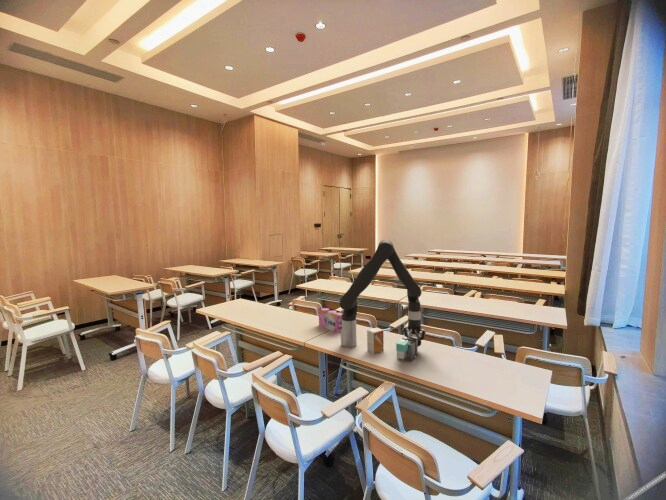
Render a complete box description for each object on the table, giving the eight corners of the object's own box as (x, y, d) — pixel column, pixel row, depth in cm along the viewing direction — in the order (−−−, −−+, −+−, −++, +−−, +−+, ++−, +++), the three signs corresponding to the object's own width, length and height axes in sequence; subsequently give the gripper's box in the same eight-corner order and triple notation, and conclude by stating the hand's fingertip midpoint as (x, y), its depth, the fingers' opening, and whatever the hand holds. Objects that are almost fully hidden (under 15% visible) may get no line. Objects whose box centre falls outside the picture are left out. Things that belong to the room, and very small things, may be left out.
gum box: (345, 331, 225) (345, 312, 224) (337, 333, 220) (336, 315, 219) (326, 323, 244) (326, 306, 243) (318, 325, 239) (318, 308, 238)
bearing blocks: (397, 358, 177) (397, 342, 176) (403, 352, 185) (403, 336, 184) (411, 362, 172) (411, 345, 171) (417, 355, 180) (417, 339, 179)
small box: (373, 353, 184) (373, 332, 183) (367, 350, 189) (366, 329, 188) (383, 350, 188) (383, 329, 187) (377, 347, 194) (376, 327, 193)
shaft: (396, 358, 171) (395, 349, 170) (411, 344, 190) (411, 336, 190) (404, 360, 168) (404, 351, 167) (419, 345, 188) (419, 337, 187)
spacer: (396, 350, 171) (396, 343, 170) (399, 347, 175) (399, 340, 174) (404, 352, 168) (404, 345, 168) (408, 349, 172) (408, 342, 172)
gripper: (400, 317, 188) (401, 344, 189) (424, 321, 180) (424, 349, 181) (405, 314, 194) (405, 340, 195) (428, 317, 186) (428, 345, 187)
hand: (414, 344), depth 188 cm, fingers closed on shaft, 5 cm apart
